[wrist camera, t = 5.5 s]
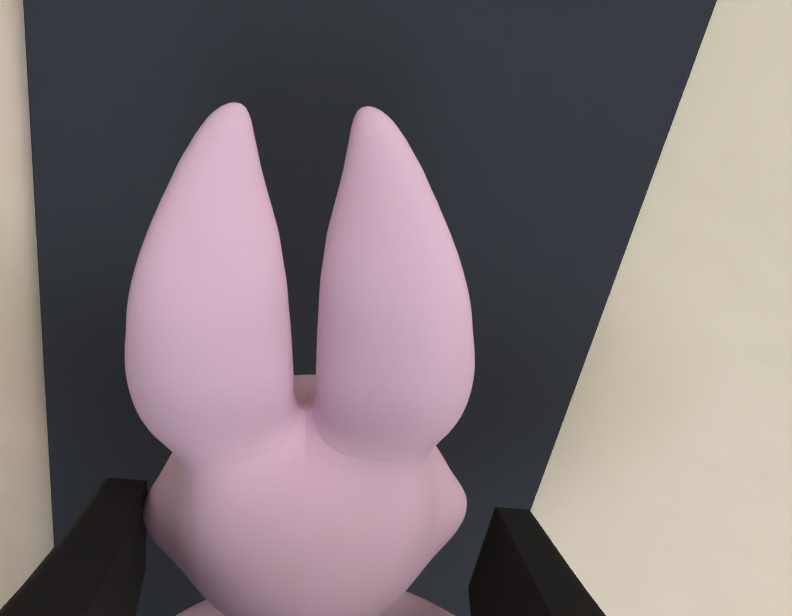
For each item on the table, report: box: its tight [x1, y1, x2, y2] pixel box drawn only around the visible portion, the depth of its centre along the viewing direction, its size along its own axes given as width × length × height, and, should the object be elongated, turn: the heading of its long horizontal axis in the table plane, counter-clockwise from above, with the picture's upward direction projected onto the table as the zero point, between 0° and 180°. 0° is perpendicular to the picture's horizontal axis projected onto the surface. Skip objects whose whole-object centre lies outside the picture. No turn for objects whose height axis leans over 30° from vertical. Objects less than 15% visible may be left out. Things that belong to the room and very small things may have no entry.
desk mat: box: [23, 0, 717, 616], centre depth 17 cm, size 20×12×1 cm, turn 170°
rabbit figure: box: [125, 102, 475, 616], centre depth 12 cm, size 6×6×15 cm
